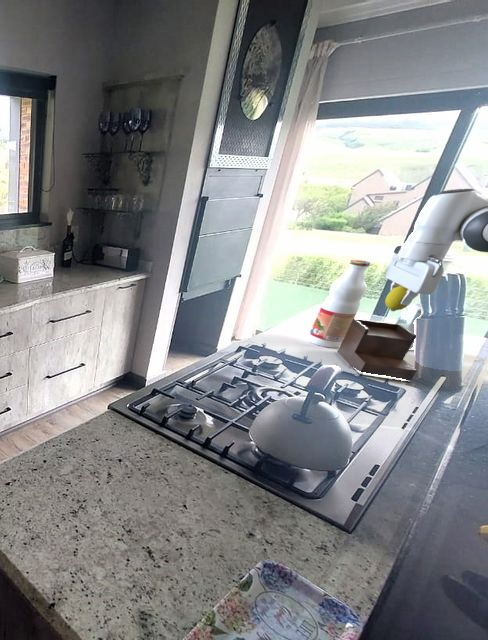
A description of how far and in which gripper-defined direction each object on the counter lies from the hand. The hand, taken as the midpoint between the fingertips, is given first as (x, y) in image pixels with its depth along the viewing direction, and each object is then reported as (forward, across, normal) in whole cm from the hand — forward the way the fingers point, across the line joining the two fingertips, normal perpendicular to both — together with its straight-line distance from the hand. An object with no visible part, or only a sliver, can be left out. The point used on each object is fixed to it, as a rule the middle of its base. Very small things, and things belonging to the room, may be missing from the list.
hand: (397, 301), depth 118 cm
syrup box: (+20, +19, -16) cm, 32 cm away
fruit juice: (+20, +12, +8) cm, 25 cm away
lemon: (+3, 0, 0) cm, 3 cm away
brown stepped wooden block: (+20, -4, 0) cm, 20 cm away
